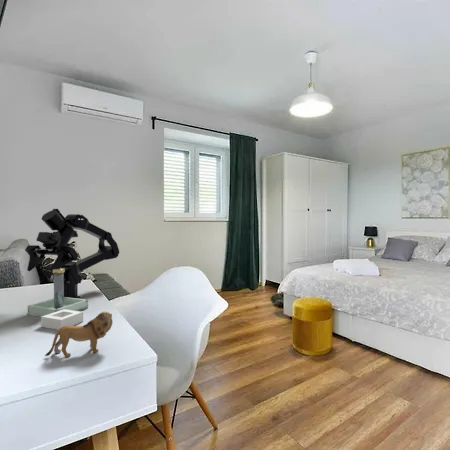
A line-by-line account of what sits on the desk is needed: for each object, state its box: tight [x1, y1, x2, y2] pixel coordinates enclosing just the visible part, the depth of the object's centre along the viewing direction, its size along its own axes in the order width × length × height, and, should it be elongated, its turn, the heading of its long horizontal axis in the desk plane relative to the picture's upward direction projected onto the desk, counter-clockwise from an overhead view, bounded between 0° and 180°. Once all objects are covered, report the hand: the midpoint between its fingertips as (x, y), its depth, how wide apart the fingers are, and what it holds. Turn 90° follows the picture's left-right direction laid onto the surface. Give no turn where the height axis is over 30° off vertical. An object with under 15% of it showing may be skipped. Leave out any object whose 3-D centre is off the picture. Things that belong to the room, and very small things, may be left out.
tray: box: [27, 297, 89, 318], centre depth 103 cm, size 13×13×3 cm
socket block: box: [40, 309, 84, 331], centre depth 90 cm, size 8×8×3 cm
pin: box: [52, 268, 65, 309], centre depth 103 cm, size 4×4×14 cm
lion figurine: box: [44, 311, 113, 358], centre depth 71 cm, size 15×5×9 cm, turn 118°
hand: (39, 271), depth 105 cm, fingers open, 9 cm apart
